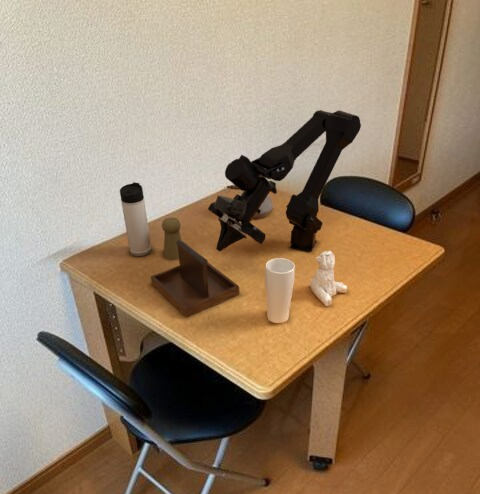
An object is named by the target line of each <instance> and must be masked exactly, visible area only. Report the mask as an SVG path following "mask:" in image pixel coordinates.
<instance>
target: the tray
mask: <svg viewBox="0 0 480 494" xmlns="http://www.w3.org/2000/svg"><path fill="white" fill-rule="evenodd" d="M176 244H177V245H178V254H179V258H178V262H179V265H177V266H174V267H172V268H169V269H166V270H163V271H161V272H159V273H155V274H153V275H150V284H151V285H152V286H153V287H154V288H155V289H156V290H157V291H158V292H159V293H160V294H161V295H162V296H163V297H164V298H165V299H167V300H168V302H170V303H171V305H173V306H174V307H175V308H176V309H177V310H178V311H179V312H180V313H181V314H182V315H183V316H185V318H188V317H191V316H192V315H195V314H198V313H200V312H202V311H204V310H207V309H209V308H211V307H214V306H216V305H218V304H220V303H222V302H225V301H227V300H230V299H231V298H232V299H233V298H234V297H236V296H239V295H240V286H239V285H238V284H237V283H236V282H234V281H233V280H232V279H231V278H229V277H228V276H227V275H225V274H224V273H223V272H222V271H220V270H218V268H216V266H215V267H214V265H212V264H211V263H209V262H208V261H209V260H208V259H207V258H205V257H204V256H203V255H201V254H200V253H199V252H198V251H196V250H195V249H194V248H192V247H191V246H190V245H188V244H187V243H186V242H185V241H184V240H182V239H181V240H180V239H179V240H177V242H176Z"/></svg>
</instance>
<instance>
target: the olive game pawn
mask: <svg viewBox="0 0 480 494" xmlns="http://www.w3.org/2000/svg"><path fill="white" fill-rule="evenodd" d="M161 222H162V223H161V229H162V231H163V232H164V233H163V234H164V235H163V236H164V239H163V240H164V242H163V256H164V258H166V259H168V260H179V254H178V245H177V244H176V242H177V240H179V239H180V240H182V237H181V232H180V229H181V221H180V220H179V219H178V218H176V217H167V218H164V219H163V220H162V221H161Z"/></svg>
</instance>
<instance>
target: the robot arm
mask: <svg viewBox="0 0 480 494" xmlns="http://www.w3.org/2000/svg"><path fill="white" fill-rule="evenodd" d="M361 127H362V124H361V119H360V117H359V116H358V115H356V114H353V113H350V112H346V111H343V110H335V111H334V112H330V111H325V110H322V109H318V110H316V111H315V112H314V113H313V114H312V117H311V118H309V120H307V121H306V122H305V123H304V124H303V125H302V126H300V128H299V129H297V131H295V132H294V133H293V134H292V135H291V136H290V137H289V138H288V139H287V140H285V142H283V143H281V144H280V145H277V146H273V147H271V148H270V149H268V150H266V151H265V152H263V153H262V154H261V155H260V157H257V158H256V159H253V160H252V161H251V160H250V159H249V158H248V156H246V155H243V154H241V155H240V156H239V158H236V159H234V160H232V161H231V162H229V163H228V164H227V166H226V168H225V171H224V177H225V178H226V180H228V181H229V182H230V183H231V184H232V185H233V186H236V187H238V188H239V189H240V190H239V191H242V192H241V194H235V195H234V197H233V198H232V197H228V196H223V195H220V194H219V195H218V194H217V197H216V200H215V201H214V202H211V203H210V204H209V206H208V208H207V210H208V211H209V212H211V213H212V214H214V216H216V217H218V219H217V220H218V221H219V224H220V232H219V235H218V240H217V242H216V243H217V244H216V247H215V248H216V250H217V252H222V251H223V250H226V249H227V248H229V247H230V246H231V245H234V244H235V243H237V242H239V241H241V240H243V239H245V240H246V239H248V237H247V236H249V237H250V238H251V239H253V241H254V242H256V243H258V244H260V245H261V246H262V244H263V243H264V242H265V240H266V233H265V232H263V230H261V229H260V228H258V227H257V226H256V225H255V224H253V223H251V221H252V220H253V217H254V215H255V214H256V213H258V214H260V212H261V210H260V209H259V208H260V206H261V205H262V203H263V202H264V200H265V199H266V197H267V195H268V194H269V195H270V193H273V194H274V195H276V194H277V193H278V190H277V183H276V182H281V181H283V180H284V179H286V177H287V176H288V174H289V173H290V172H291V171H292V170H293V168H294V165H295V162H296V160H297V158H299V156H301V154H303V153H304V152H305V151H306V150H307V149H308V148H309V147H310V146H311V145H313V144H314V142H316V141H317V140H318V139H319V138H320V137H321V136H322V135H323V134H325V143H324V145H323V147H322V149H321V151H320V154H319V156H318V158H317V159H316V161H315V164H314V166H313V168H312V170H311V172H310V174H309V176H308V179H307V181H306V183H305V185H304V187H303V189H302V191H301V192H299V193H298V194H292V195H291V196H290V200H289V201H288V204H287V205H286V206H285V207H286V210H285V217H286V219H287V220H288V223H289V224H290V225H291V226H293V227H292V229H291V231H290V244H291V245H290V246H289V247H290V249H293V250H298V251H303V252H309V253H311V252H312V251H313V250H314V248H315V246H316V244H317V240H316V237H317V234H318V232H319V231H321V229H322V226H323V222H322V220H320V219H319V218H318V217H317V216H318V214H319V209H320V208H319V199H320V196H321V194H322V192H323V191H324V188H325V186H326V184H327V182H328V180H329V178H330V176H331V174H332V173H333V170H334V168H335V166H336V163H337V162H338V160H339V157H341V156H340V155H341V153H342V151H343V150H344V149H346V148H347V147H349V146H350V145H351V144H352V143H353V142H354V140H355V139H356V137H357V136H358V134H359V132H360V130H361ZM260 175H261V176H263V177H259V176H260ZM264 177H265V178H264Z"/></svg>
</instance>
